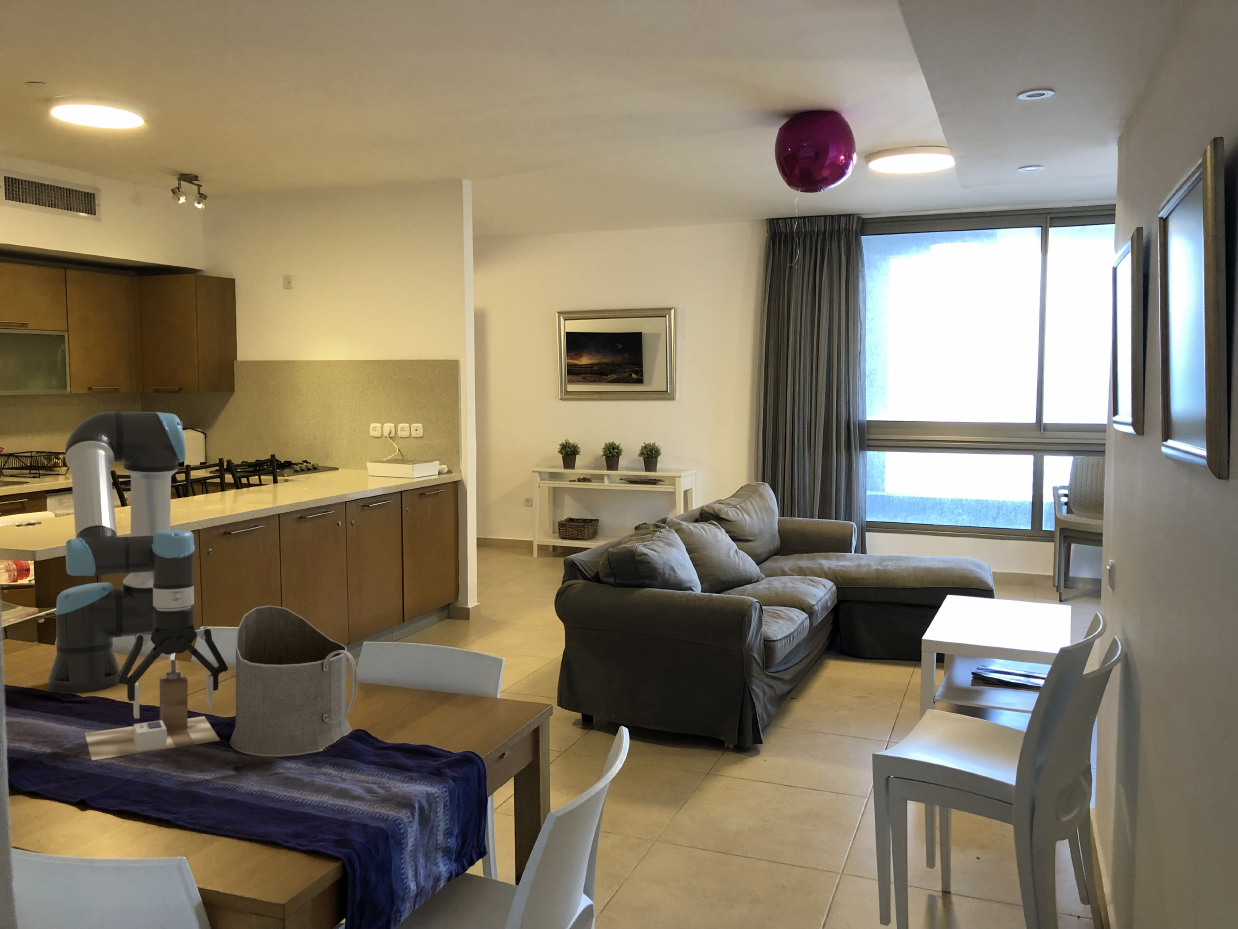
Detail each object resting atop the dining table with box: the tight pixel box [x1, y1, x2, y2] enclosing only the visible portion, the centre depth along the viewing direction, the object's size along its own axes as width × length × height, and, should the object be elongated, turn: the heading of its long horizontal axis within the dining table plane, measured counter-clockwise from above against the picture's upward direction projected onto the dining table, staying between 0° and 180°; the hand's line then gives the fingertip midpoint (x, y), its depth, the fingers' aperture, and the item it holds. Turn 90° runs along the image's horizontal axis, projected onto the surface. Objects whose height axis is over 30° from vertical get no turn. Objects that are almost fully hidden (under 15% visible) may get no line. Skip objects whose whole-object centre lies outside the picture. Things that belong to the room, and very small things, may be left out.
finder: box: [133, 719, 167, 751], centre depth 185 cm, size 6×5×4 cm
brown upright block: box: [159, 659, 189, 731], centre depth 195 cm, size 4×4×14 cm
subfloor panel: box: [84, 716, 221, 761], centre depth 189 cm, size 17×22×1 cm
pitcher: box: [229, 605, 358, 757], centre depth 192 cm, size 23×32×25 cm
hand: (173, 711), depth 195 cm, fingers open, 13 cm apart
